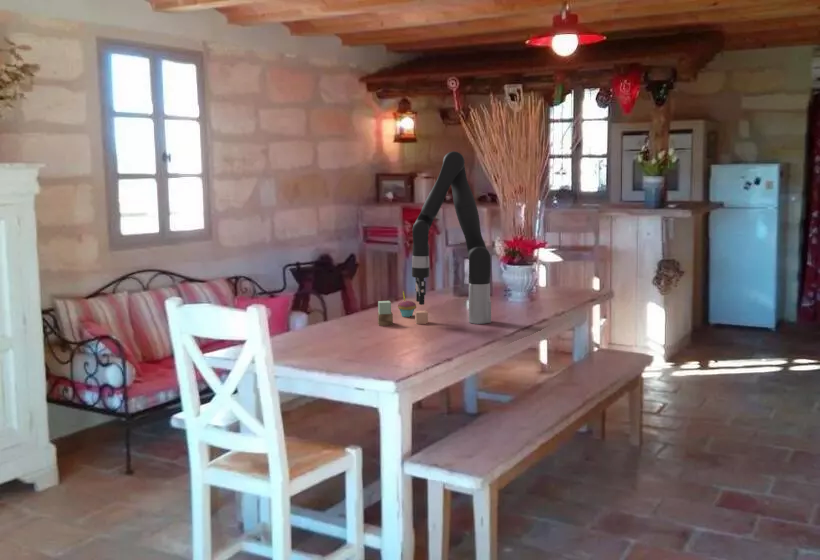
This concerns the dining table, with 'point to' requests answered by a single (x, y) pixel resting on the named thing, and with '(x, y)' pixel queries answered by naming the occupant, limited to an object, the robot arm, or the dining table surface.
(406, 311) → the cupcake
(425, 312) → the tan block
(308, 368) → the dining table surface
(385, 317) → the walnut base
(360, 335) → the dining table surface
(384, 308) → the sage block
